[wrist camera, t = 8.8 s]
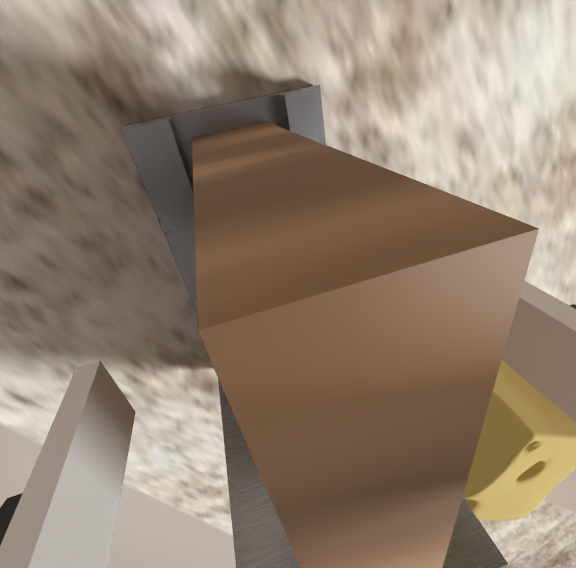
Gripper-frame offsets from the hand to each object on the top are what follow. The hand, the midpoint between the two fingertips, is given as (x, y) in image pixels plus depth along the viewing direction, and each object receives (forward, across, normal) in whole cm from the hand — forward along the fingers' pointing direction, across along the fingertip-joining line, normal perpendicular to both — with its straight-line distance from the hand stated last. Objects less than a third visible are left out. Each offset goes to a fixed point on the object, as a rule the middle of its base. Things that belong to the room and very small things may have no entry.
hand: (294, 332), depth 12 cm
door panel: (+7, 0, 0) cm, 7 cm away
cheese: (+9, -14, +19) cm, 25 cm away
